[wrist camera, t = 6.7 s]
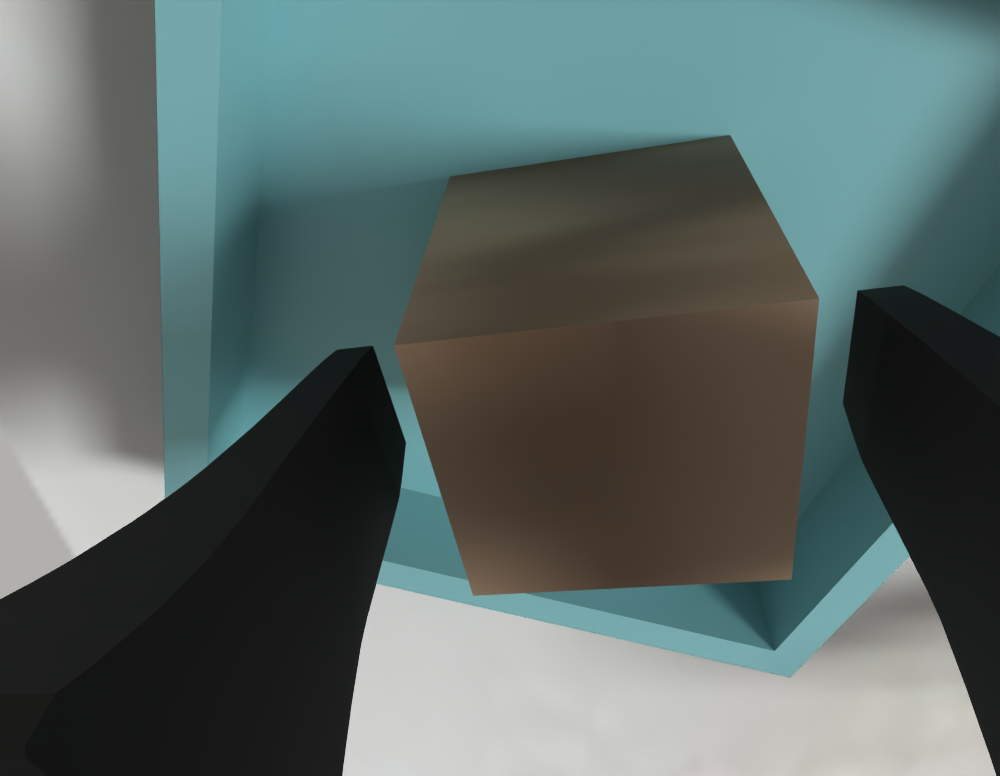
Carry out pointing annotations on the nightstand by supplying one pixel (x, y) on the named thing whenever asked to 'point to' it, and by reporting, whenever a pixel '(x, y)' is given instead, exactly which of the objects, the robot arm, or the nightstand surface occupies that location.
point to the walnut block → (613, 371)
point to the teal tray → (551, 137)
